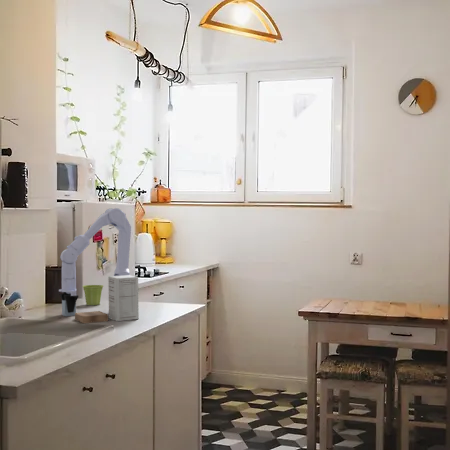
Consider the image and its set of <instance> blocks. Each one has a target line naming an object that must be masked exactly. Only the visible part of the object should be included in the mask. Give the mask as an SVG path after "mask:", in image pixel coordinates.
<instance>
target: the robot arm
mask: <svg viewBox="0 0 450 450" xmlns="http://www.w3.org/2000/svg"><path fill="white" fill-rule="evenodd" d="M109 225H113V227H114V228H115V229H116V230H117V231H118V235H117V237H118V238H117V252H116V265H115V266H116V267H115V270H114V272H113V273H114V274H113V276H123V275H131V272H130V269H129V262H130V250H131V249H130V247H131V233H132V232H131V231H132V226H131V224H130V222H129V220H128V218H127V216H126V213H125V212H124V211H123V210H122V209H120V208H118V207H115V208H106V210H105V212H103V213H101V214H100V215H99V217H97V219H95V221H94V222H93V223H92V224H91V226H90V227H89V228H88V229H87V230H86V231H85V233H84V234H78V235H76V236H75V237H73V239H74V240H73V241H72V242H71V243H70V244H69V245H67V246H66V249H64V250H63V251H62V252H61V254H60V256H59V257H60V260H61V288H60V289H58V292H60V293H59V297H60V299H61V301H62V300H66V304H67V310H68V313H70V312H74V308H75V303H76V304H77V300H78V298H79V295H78V294H77V268H76V263H77V261H78V256H80V255H81V254H82V253H83V252H84V251H85V250H86V249H87V247H88V246H89V245H91V244H90V240H91V239H92V238H93V237H94V236H95V235H96V234H97V233H98V232H99V231H100V230H101V229H102V228H103V227H105V226H109Z"/></svg>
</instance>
